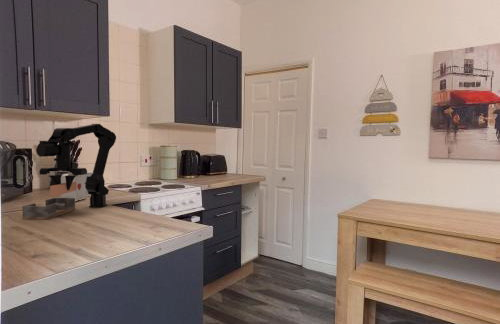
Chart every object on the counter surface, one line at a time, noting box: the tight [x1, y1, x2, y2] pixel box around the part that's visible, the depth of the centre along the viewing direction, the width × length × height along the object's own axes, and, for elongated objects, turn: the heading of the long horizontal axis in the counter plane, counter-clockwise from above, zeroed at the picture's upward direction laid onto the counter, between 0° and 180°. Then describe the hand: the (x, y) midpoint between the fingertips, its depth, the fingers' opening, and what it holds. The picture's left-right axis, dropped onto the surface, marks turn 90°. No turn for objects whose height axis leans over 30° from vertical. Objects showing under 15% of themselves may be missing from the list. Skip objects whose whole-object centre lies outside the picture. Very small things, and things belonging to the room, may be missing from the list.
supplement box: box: [60, 173, 86, 200], centre depth 172 cm, size 9×9×15 cm
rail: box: [49, 182, 77, 196], centre depth 141 cm, size 14×4×4 cm, turn 0°
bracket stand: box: [21, 197, 76, 221], centre depth 142 cm, size 10×20×6 cm, turn 178°
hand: (64, 190), depth 141 cm, fingers closed on rail, 3 cm apart
